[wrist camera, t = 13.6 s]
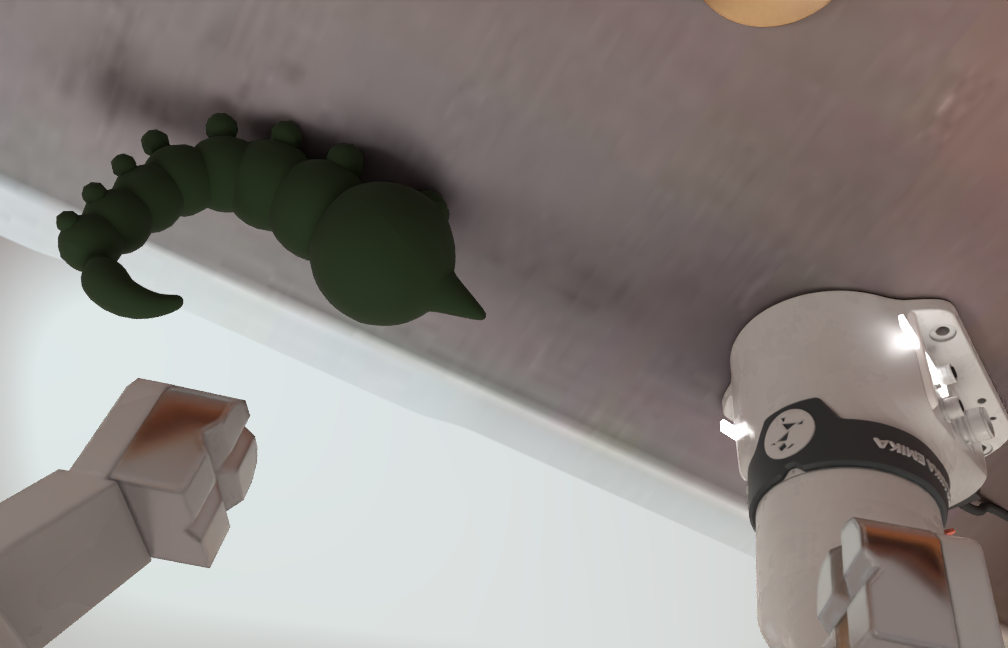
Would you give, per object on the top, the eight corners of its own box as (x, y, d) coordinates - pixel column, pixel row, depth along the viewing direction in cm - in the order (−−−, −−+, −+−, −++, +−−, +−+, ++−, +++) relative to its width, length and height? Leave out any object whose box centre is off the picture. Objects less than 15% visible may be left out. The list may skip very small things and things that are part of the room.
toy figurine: (193, 158, 66) (500, 286, 66) (28, 325, 53) (414, 484, 53) (195, 49, 59) (538, 191, 59) (8, 208, 46) (450, 391, 46)
